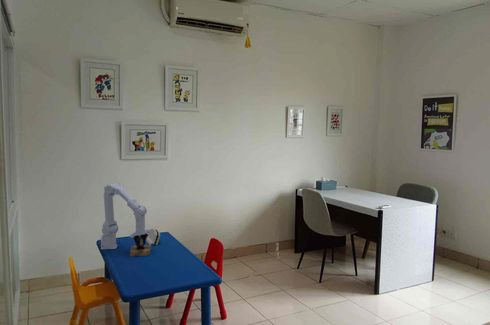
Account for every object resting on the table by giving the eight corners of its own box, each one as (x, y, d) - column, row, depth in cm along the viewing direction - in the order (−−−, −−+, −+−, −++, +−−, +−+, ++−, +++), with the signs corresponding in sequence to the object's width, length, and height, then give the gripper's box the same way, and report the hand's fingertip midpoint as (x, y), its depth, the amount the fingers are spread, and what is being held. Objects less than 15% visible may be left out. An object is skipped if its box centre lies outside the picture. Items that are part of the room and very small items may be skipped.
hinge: (144, 239, 274) (149, 226, 275) (150, 240, 277) (155, 227, 277) (150, 245, 260) (155, 231, 260) (156, 247, 262) (161, 233, 262)
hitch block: (129, 256, 238) (129, 251, 238) (132, 250, 250) (132, 245, 250) (149, 255, 240) (149, 250, 240) (150, 249, 252) (150, 245, 252)
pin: (137, 249, 243) (137, 238, 242) (138, 247, 247) (137, 237, 246) (143, 249, 244) (142, 238, 243) (143, 247, 247) (143, 237, 246)
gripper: (135, 228, 235) (135, 250, 237) (153, 224, 247) (153, 244, 248) (127, 227, 239) (128, 247, 241) (146, 222, 251) (146, 242, 252)
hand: (140, 246), depth 245 cm, fingers closed on pin, 4 cm apart
